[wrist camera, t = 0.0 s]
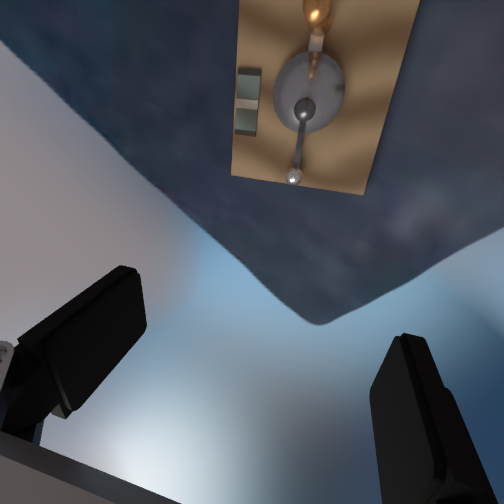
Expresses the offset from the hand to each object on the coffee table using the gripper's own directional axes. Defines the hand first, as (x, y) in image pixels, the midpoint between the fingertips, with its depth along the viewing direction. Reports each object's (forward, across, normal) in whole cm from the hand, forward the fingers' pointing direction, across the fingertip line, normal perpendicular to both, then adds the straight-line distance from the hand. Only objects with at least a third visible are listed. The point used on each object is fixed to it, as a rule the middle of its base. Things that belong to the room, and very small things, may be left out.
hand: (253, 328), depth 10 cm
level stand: (+31, +2, -8) cm, 32 cm away
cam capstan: (+29, +2, -7) cm, 30 cm away
